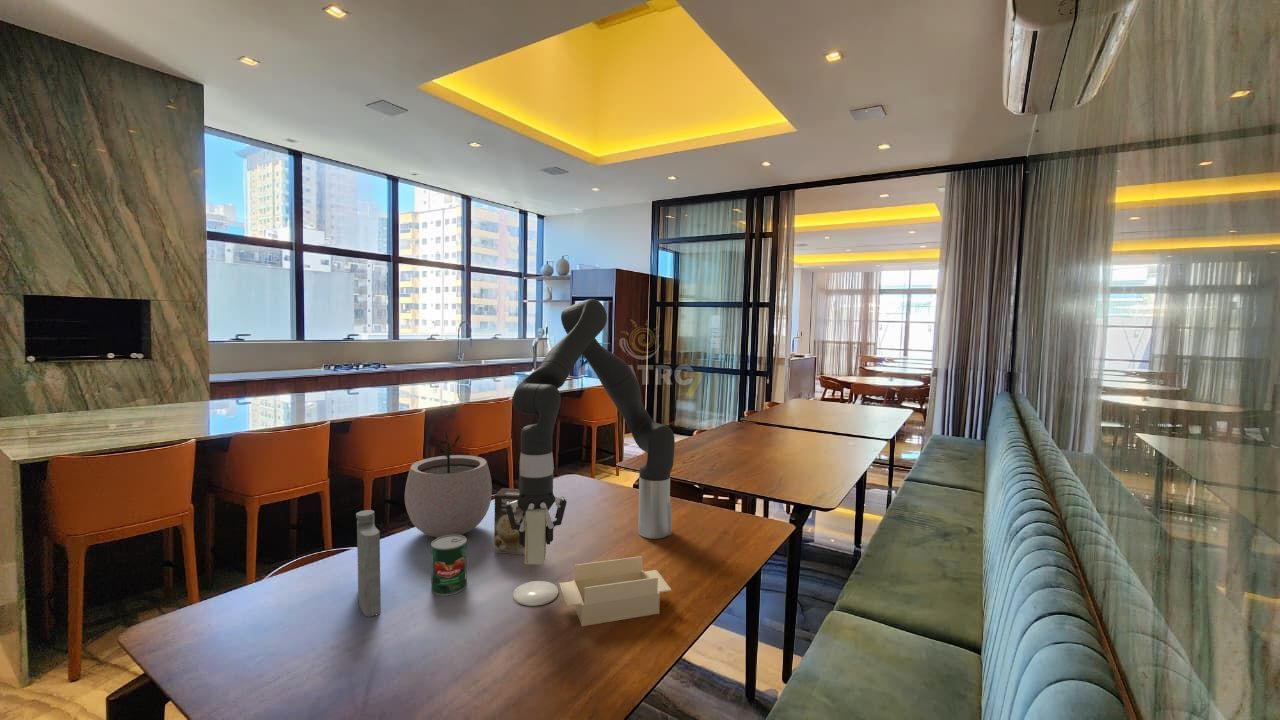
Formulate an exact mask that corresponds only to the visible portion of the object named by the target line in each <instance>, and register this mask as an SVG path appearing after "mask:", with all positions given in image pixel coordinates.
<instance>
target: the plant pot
mask: <svg viewBox="0 0 1280 720" xmlns="http://www.w3.org/2000/svg"><path fill="white" fill-rule="evenodd" d="M460 437H461V434H459V435H458V436H457V437H456V438H455V440H454V444H453V445H451V446H450V444H451V443H450V441H449V438H448V434H447V432H445V438H446V440H447V441H440V443H441V444H446V445H447V448H446V449H447V450H446V451H447V454H446V453H445V452H444V451H443V450H442V449H441V448H439V449H438V450H439V452H440V453H443V455H440V456H435V457H429V458H424V459H421V460H418V461H416V462H414V463H412V464H411V465H410V467H409V471H408V474H407V479H406V482H405V489H404V504H405V509H406V513H407V514H408V518H409V519H410V522H411V523H412V525H413V526H414V528H416V529H417V530H418V531H420V532H421V533H422V534H425V535H427V536H429V537H433V538H439V537H442V536H446V535H462V536H464V535H465V534H467V533H469V532H471V531H472V530H473V529H475V528H476V527H477V526H478V525H479V524H480V523H481V522H482V521H483V519H484V518H485V517H486V516H487V513H488V511H489V508H490V505H491V501H492V490H493V485H492V477H491V472H490V469H489V465H488V461H487V459H485V458H483V457H480V456H476V455H467V454H464V455H463V454H456V455H455V454H451V453H450V450H452V449H453V448H455V447H456V444H457V442H458V441H459V439H460Z"/></svg>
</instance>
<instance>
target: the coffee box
mask: <svg viewBox="0 0 1280 720" xmlns="http://www.w3.org/2000/svg"><path fill="white" fill-rule="evenodd" d="M518 497H519V488H509V487H508V488H507V487H502V488H501V489H500V490H498V491H497V492H496V493H495V494H494V527H493V528H494V530H493V531H494V533H493V535H494V536H493V537H494V541H493V544H494V545H493V553H496V554H497V553H498V554H499V553H500V554H511V555H512V554H513V555H514V554H515V555H524V556H525V547H522V545H520V543H519V531H518V530H512V529H511V525H510V521H509V518H508V514H507V510H506V505H505V503H506V502H507V501H509V502H512V501H516V500H517V498H518ZM522 513H523V510H522V509H521V508H520V507H519V506H518V505H517V506H516V510H515V511H514V512H513V514H514V518H515V522H518V523H519V522H520V519H521V516H522Z"/></svg>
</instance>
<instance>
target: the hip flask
mask: <svg viewBox="0 0 1280 720" xmlns="http://www.w3.org/2000/svg"><path fill="white" fill-rule="evenodd" d="M355 518H356V534H357V536H356V538H357V539H356V541H357V542H356V543H357V544H356V545H357V583H358V584H357V596H358V598H357V599H358V605H359V609H360V608H361V609H360V611H361V610H362V611H361V613H362V612H363V613H362V614H364V615H365V616H373V617H375V616H374V615H376V614H378V615H379V614H381V612H382V611H381V610H382V609H381V608H382V607H381V605H382V604H381V595H382V594H381V547H380V546H381V543H380V542H381V540H380V539H381V537H380V535H381V534H380V533H381V531H380V530H379V529H378V528H377V527H376V524H375V523H376V522H375V520H376V519H375V511H374V510H373V509H365V510H360V511H358V512H356V513H355ZM364 615H363V616H364ZM365 616H364V617H365ZM376 616H377V615H376Z"/></svg>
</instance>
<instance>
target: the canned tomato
mask: <svg viewBox="0 0 1280 720" xmlns="http://www.w3.org/2000/svg"><path fill="white" fill-rule="evenodd" d="M467 541H468V539H467V537H466V536H464V535H446V536H442V537H439V538H437V537H435V539H434V540H432V541H431V543H430V546H431V548H430V549H431V550H430V556H431V557H430V560H431V561H430V563H431V564H430V566H431V567H430V569H431V571H430V573H431V575H430V577H431V579H430V580H431V581H430V582H431V588H430V591H431V593H432V594H434V595H436V594H437V596H442V595H445V596H452V595H455V594H457V593H460V592H462V591H464V590H465V589H466V588H467V586H468V582H467V579H468V577H467V575H468V570H467V568H468V562H467V561H468V559H467V558H468V556H467V555H468V553H467V552H468V550H467Z"/></svg>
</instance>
